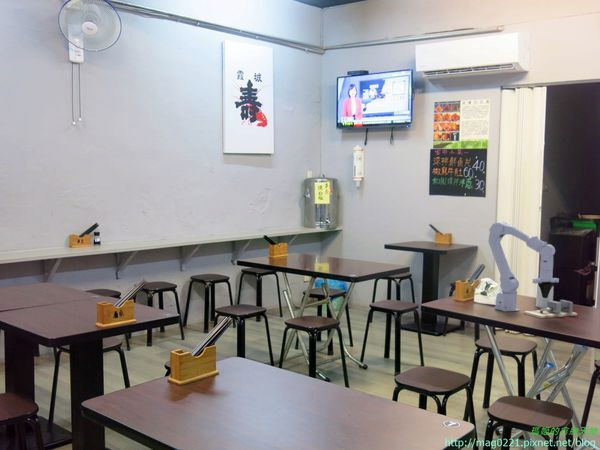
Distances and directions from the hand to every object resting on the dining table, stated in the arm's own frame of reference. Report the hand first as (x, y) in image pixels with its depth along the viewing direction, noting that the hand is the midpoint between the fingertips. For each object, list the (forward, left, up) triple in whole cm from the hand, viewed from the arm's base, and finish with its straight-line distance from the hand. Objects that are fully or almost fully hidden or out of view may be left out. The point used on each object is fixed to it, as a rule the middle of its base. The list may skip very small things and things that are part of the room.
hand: (544, 297), depth 298 cm
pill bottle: (+14, +15, -9) cm, 22 cm away
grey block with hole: (+6, 0, -7) cm, 9 cm away
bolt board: (+4, 0, -8) cm, 9 cm away
